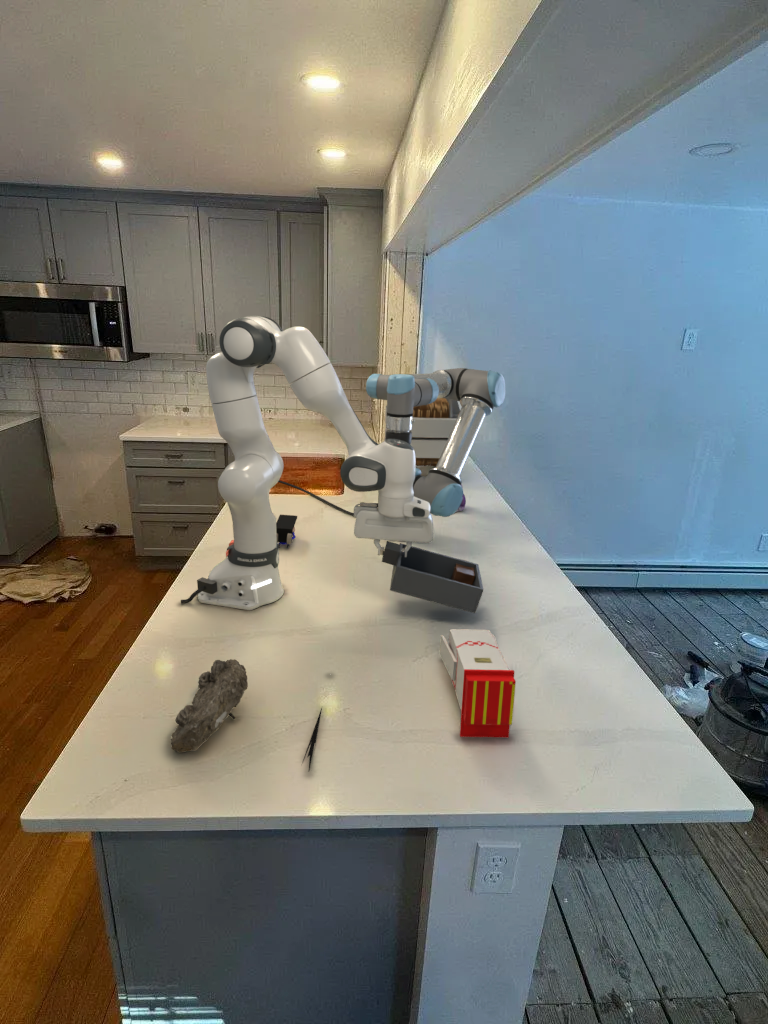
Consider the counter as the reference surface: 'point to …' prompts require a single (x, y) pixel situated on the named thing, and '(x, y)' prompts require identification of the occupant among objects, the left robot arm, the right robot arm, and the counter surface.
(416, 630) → the counter surface
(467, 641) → the toy
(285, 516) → the figurine character
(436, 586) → the bin
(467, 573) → the walnut cube
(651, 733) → the counter surface
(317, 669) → the counter surface
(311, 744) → the feather
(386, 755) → the counter surface
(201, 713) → the fossil
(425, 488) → the right robot arm
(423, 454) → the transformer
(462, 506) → the figurine
